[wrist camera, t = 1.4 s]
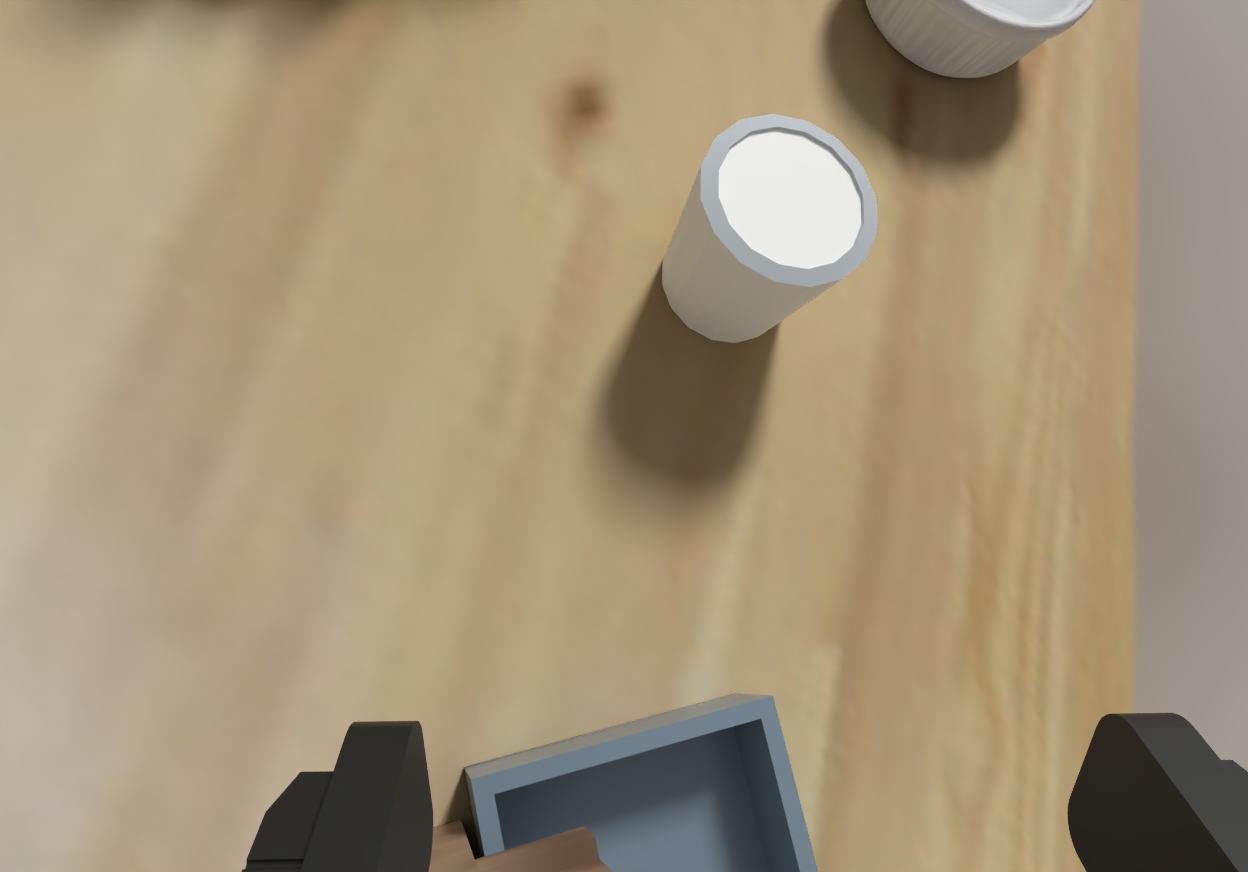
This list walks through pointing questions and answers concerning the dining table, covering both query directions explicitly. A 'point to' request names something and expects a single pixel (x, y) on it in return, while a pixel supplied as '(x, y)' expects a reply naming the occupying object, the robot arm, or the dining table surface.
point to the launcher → (516, 853)
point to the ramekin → (971, 31)
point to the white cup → (767, 227)
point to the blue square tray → (656, 792)
